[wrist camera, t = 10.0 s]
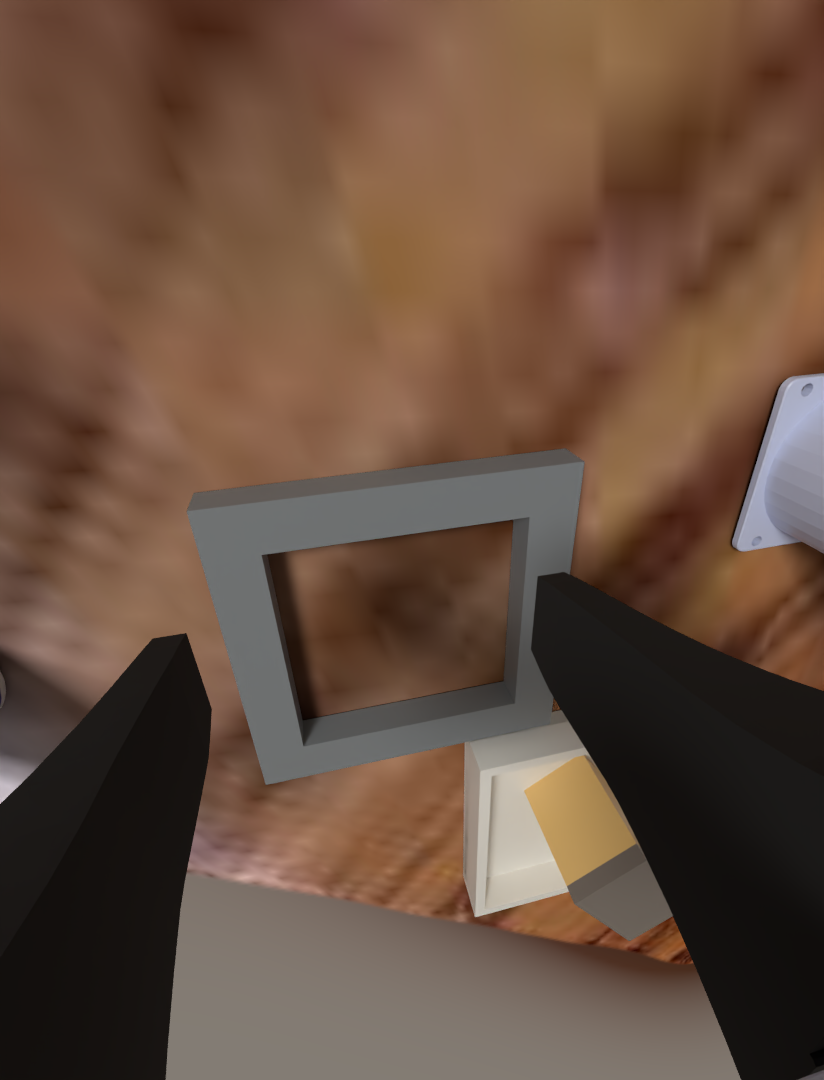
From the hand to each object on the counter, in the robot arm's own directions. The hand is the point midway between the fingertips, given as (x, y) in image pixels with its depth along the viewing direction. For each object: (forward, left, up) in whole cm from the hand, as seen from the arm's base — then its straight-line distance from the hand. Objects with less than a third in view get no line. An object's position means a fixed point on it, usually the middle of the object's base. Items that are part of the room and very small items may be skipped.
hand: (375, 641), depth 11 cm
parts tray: (-12, +22, -9) cm, 27 cm away
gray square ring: (-2, +7, -9) cm, 12 cm away
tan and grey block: (-12, +22, -9) cm, 26 cm away
